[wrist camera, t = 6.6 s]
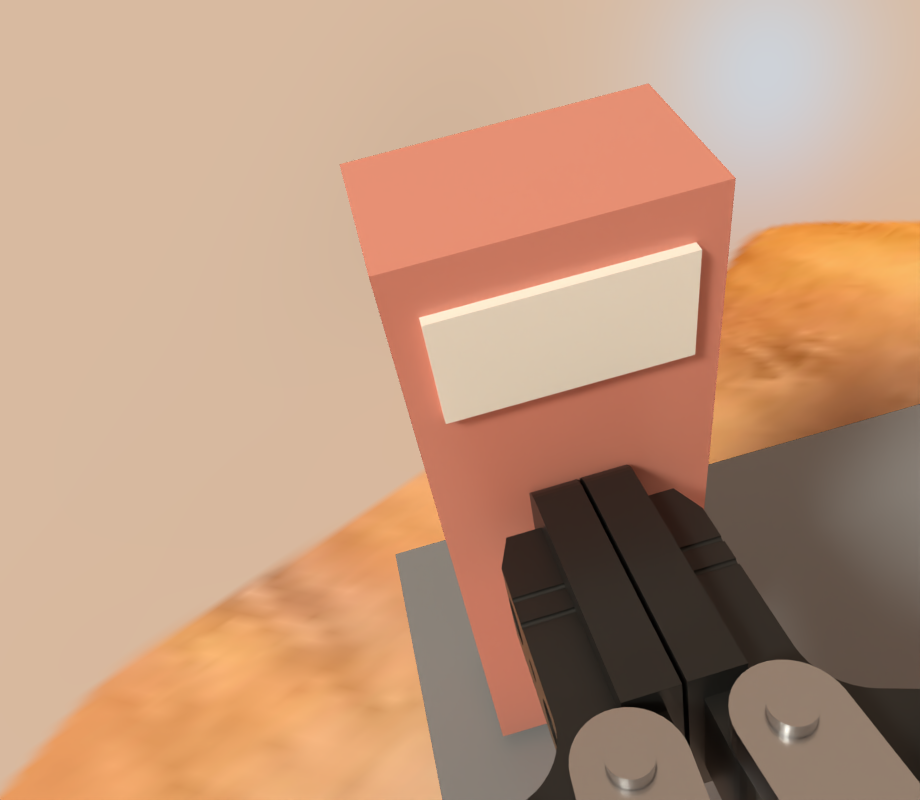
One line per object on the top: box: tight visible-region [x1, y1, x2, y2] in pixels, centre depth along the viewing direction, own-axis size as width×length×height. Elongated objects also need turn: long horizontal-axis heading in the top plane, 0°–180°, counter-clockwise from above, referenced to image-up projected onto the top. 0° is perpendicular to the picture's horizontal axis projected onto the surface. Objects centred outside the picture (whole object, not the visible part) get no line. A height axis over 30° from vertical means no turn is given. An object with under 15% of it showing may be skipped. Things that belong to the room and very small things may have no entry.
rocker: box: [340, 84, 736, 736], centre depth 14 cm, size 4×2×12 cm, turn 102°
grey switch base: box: [396, 404, 920, 800], centre depth 20 cm, size 22×10×4 cm, turn 102°
